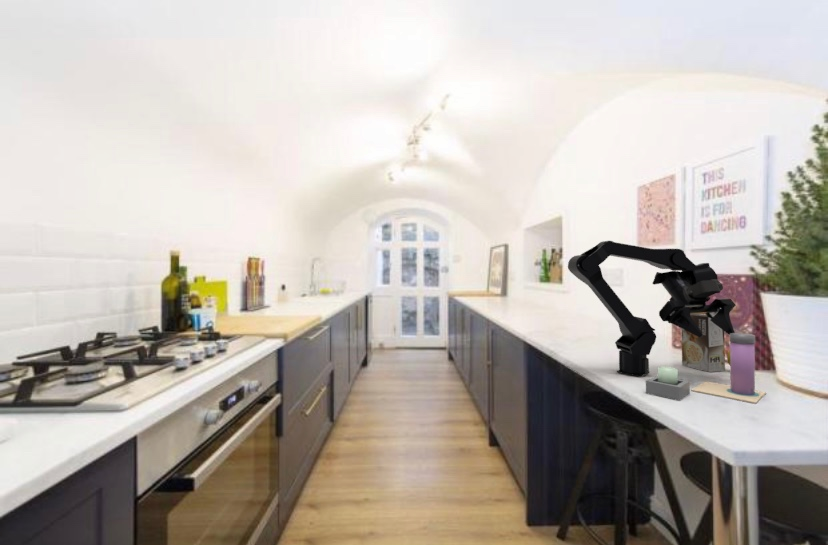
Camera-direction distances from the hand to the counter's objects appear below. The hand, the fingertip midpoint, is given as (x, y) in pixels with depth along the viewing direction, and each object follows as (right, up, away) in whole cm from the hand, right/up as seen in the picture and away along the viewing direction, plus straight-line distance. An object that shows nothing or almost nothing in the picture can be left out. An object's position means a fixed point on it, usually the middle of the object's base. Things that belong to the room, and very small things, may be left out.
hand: (717, 335), depth 98 cm
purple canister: (+1, -13, -6) cm, 14 cm away
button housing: (-16, -13, -5) cm, 21 cm away
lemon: (+16, -13, +12) cm, 24 cm away
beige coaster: (-1, -13, -5) cm, 14 cm away
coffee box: (+10, -13, +18) cm, 25 cm away
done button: (-16, -11, -5) cm, 20 cm away
